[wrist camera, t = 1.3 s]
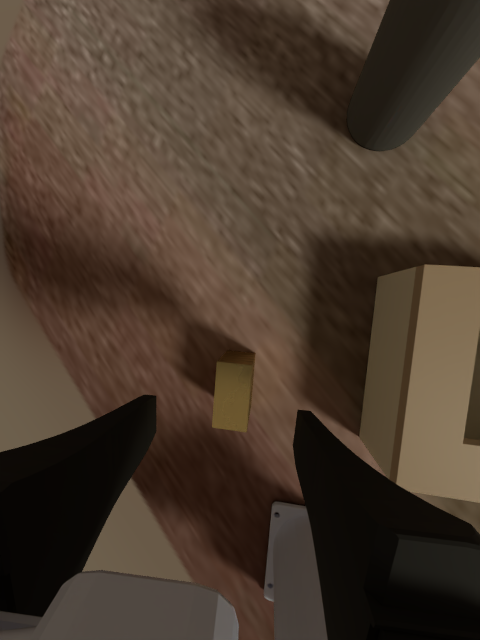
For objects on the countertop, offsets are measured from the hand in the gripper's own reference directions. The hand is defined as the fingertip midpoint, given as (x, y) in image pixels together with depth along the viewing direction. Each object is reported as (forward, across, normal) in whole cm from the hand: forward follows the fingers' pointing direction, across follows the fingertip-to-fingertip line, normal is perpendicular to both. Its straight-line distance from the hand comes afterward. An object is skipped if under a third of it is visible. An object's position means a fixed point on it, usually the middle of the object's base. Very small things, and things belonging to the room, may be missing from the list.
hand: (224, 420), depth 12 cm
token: (+10, 0, +2) cm, 10 cm away
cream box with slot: (+9, -17, -1) cm, 19 cm away
